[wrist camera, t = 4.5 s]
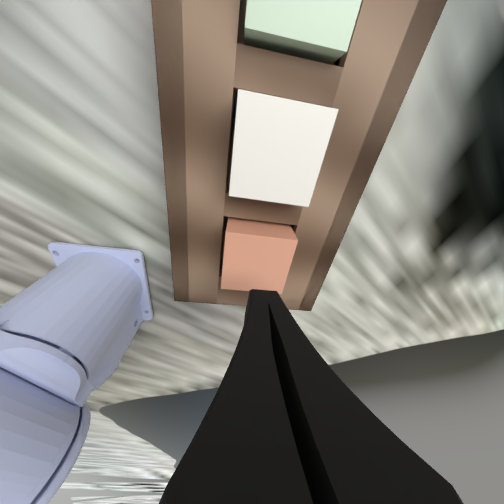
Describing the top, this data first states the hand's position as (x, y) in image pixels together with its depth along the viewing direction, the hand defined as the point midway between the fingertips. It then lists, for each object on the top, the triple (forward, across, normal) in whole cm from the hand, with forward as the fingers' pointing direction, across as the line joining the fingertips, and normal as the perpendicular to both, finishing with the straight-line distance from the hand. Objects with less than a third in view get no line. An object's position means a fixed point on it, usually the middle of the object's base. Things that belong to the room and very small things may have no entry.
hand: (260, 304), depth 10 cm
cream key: (+7, 0, -6) cm, 9 cm away
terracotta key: (+7, 0, 0) cm, 7 cm away
